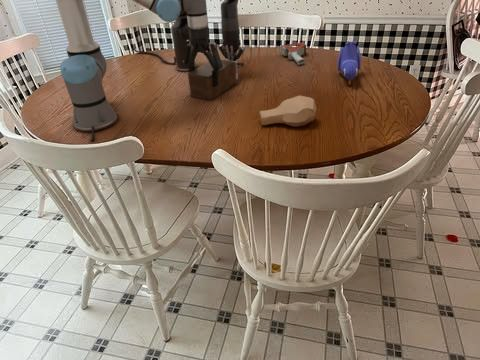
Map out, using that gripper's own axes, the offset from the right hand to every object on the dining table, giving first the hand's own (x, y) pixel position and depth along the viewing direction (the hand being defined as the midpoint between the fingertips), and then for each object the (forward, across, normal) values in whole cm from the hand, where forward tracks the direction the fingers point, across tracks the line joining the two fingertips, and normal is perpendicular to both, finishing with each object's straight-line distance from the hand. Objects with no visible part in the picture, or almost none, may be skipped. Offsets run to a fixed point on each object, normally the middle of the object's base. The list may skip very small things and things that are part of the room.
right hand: (232, 68), depth 162 cm
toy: (+4, -48, -18) cm, 51 cm away
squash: (+4, -42, +31) cm, 52 cm away
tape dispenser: (+4, -15, -35) cm, 38 cm away
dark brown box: (+4, 0, +16) cm, 17 cm away
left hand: (0, 0, +22) cm, 22 cm away
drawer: (+3, 0, +10) cm, 10 cm away
